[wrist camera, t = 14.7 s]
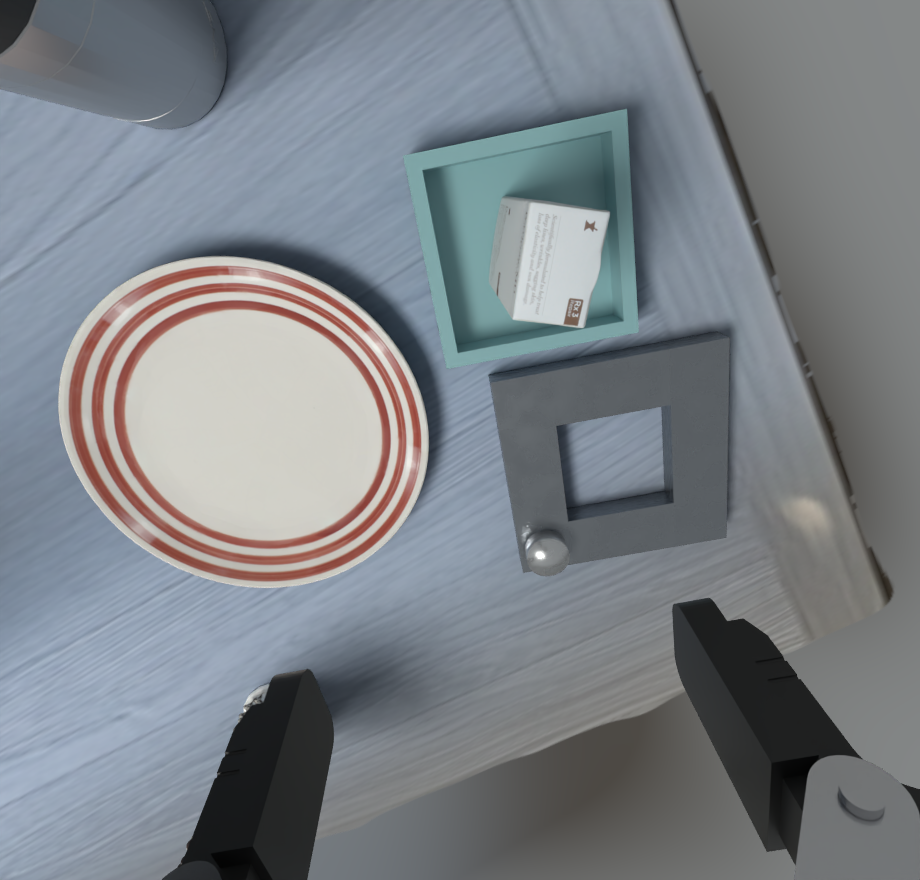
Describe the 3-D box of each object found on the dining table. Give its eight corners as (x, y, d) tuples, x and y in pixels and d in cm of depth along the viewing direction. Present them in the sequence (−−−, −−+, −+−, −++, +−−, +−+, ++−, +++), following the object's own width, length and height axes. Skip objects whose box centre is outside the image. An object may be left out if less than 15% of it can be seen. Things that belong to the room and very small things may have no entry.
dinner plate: (349, 196, 38) (341, 195, 35) (472, 515, 48) (475, 536, 45) (8, 325, 40) (-27, 336, 37) (196, 600, 51) (181, 625, 48)
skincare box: (499, 195, 37) (524, 192, 26) (563, 203, 37) (614, 205, 26) (486, 286, 40) (504, 320, 28) (546, 294, 40) (587, 330, 29)
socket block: (520, 559, 50) (525, 584, 47) (488, 375, 43) (492, 389, 39) (715, 525, 49) (735, 548, 46) (717, 331, 42) (740, 342, 39)
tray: (446, 358, 42) (446, 369, 39) (405, 159, 36) (403, 155, 34) (625, 323, 41) (638, 332, 39) (612, 115, 36) (626, 108, 33)
